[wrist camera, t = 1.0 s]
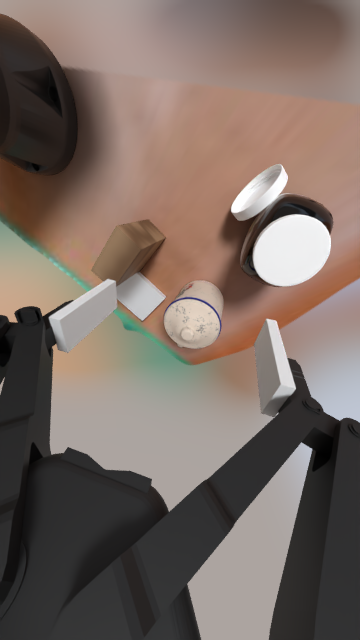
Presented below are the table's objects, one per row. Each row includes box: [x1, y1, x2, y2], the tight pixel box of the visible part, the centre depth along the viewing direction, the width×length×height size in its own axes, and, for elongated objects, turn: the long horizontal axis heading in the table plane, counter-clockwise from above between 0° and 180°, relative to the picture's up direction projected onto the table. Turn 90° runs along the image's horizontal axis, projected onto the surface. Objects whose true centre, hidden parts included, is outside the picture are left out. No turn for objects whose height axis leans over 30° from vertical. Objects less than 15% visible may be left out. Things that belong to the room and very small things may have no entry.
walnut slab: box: [91, 220, 166, 287], centre depth 31 cm, size 4×8×10 cm, turn 139°
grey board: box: [116, 272, 166, 321], centre depth 40 cm, size 10×8×1 cm
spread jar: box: [231, 164, 333, 287], centre depth 24 cm, size 12×11×12 cm
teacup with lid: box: [164, 280, 224, 349], centre depth 33 cm, size 12×9×12 cm
